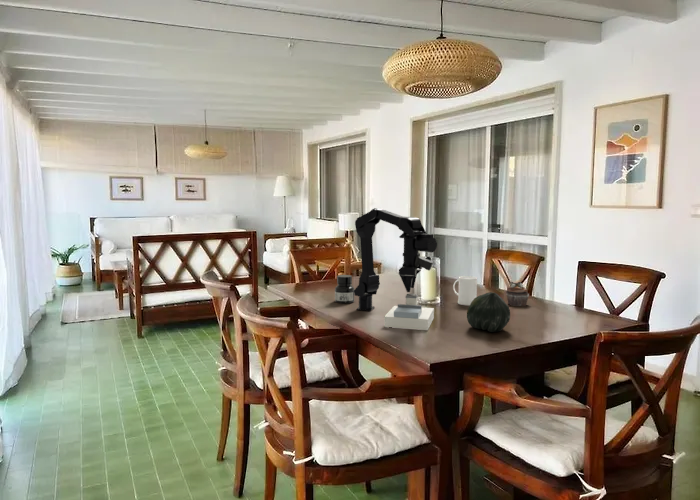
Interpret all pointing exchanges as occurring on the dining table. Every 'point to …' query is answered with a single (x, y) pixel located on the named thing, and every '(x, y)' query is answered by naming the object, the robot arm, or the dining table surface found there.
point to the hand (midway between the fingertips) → (410, 290)
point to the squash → (488, 312)
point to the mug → (466, 289)
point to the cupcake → (517, 294)
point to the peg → (412, 299)
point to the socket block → (410, 320)
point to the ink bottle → (344, 289)
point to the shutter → (408, 311)
